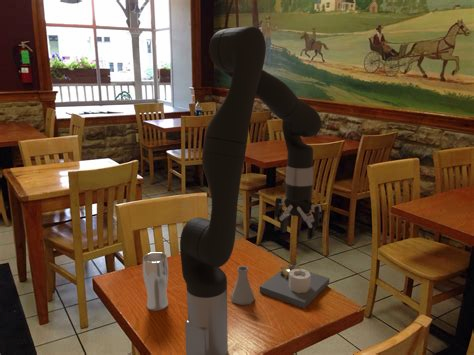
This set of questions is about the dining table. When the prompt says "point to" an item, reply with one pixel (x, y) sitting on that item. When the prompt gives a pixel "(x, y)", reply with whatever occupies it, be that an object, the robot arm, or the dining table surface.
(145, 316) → the dining table surface
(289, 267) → the brass gear
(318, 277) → the board
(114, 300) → the dining table surface
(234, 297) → the flask
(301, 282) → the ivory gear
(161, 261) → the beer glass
